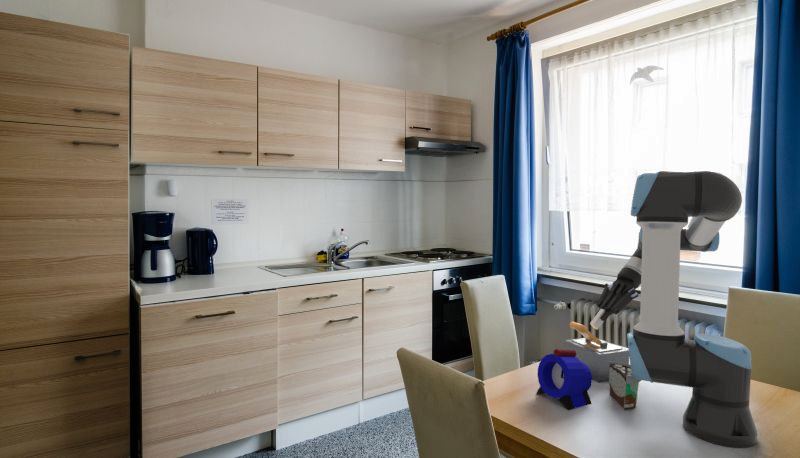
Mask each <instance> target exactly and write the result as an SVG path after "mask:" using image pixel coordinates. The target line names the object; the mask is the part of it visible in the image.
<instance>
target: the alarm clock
mask: <svg viewBox="0 0 800 458" xmlns="http://www.w3.org/2000/svg"><path fill="white" fill-rule="evenodd" d="M575 356H576V351H575V350H565V349H560V348H559V349H557V348H556V349H554V350H553V353H550V354H549V353H548V354H546V355H544V357H542V358H541V360H540V361H539V364H538V366H537V367H538V368H537V381H538V384H539V387H538V390H537V391H536V394H535V395H543V394H544V395H546V396H548V397H549V398H552V399H558V401H559V403H561V404H562V405H563V407H565V409H566V410H567V411H571V410H574V409H578V408H581V407H584V406H588V405H592V404H593V403H592V400H591V397H590V395H589V392H588V391H589V390H590V389H591V387H592V383H593V380H592V375H591V371H590V369H589V368H588V366H587V365H586V364H584V363H583V362H581V361H580V360H579V359H578V358H577V357H575Z"/></svg>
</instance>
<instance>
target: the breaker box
mask: <svg viewBox="0 0 800 458" xmlns="http://www.w3.org/2000/svg"><path fill="white" fill-rule="evenodd" d="M598 339H599V340H600V341H601V343H600V345H598V344H596V343H593V342H590V341H589V340H587V339H586V338H585V337H581V338H580V337H579V338H573V339H565V340H564V350H575V351H576V356H575V357H577V358H578V359H579V360H580V361H581V362H583V363H584V364H586V365H587V366H588V368H589V369H590V371H591V375H592V381H594V382H596V383H598V384H601V383H605V382H609V368H608V365H609V361H613V362H621V363H626V364H629V365H630V358H629V349H627V348H625V347H622V346H620V345H616V344H613V343H612V342H608V341H606V340H603V339H600V338H598Z"/></svg>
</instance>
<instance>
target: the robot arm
mask: <svg viewBox="0 0 800 458" xmlns="http://www.w3.org/2000/svg"><path fill="white" fill-rule="evenodd" d="M636 177H637V178H636V179H635V184H634V190H633V194H632V202H631V206H630V207H631V209H630V216H632V217H636V224H637V226H639V227H640V230H639V232H638V242H637V247H636V250H635V251H634V253H633V254H632V255H631V257H629V259H628V260H627V261H626V263H625V264H624V265H623V267H622V268H621V269H620V271H618V273H617V276H616V279H615V280H614V281H613V282H612V283H610V284H608V283H605V284H604V288H603V291H602V293H601V294H600V297H599V299H598V301H597V303H596V306H597V308H598V310H597V311H596V313H595V315H594V318H593V319H592V320H591V321H590V323H589V324H590V326H591V327H592V328H593V329H594V330H596V331H598V330H599V329H600V327H601V326H602V324H603V323H604V322H606V321H607V319H608V318H609V317H610V316H611V315H613V314H614V315H618V314H619V313H621V311H622V310H623V309H624V308H625V307H626V306H627V305H629V304H630V303H631V302H632V301H633V300H634V299H637V298H638V297H639V293H638V292H637V291H636V289H638V288H639V287H640V303H639V304H640V307H639V308H640V309H639V311H640V312H639V316H640V317H639V322H637V323H636V324H634V326H633V329H632V330H633V331H632V332H628V333H627V334H626V338H627V348H628V349H627V350H629V365H630V366H631V373H632V375H633V376H634V377H635V378H636V379H639V380H641V381H645V382H650V383H651V384H652V383H657V384H665V385H672V386H679V387H686V388H692V393H691V397H690V400H689V401H688V404H687V406H686V408H685V411H684V413H683V416H682V425H683V428H684V429H685V430H686V431H687V432H688V433H689V434H691V435H693V436H694V437H697V438H699V439H701V440H704V441H706V442H709V443H713V444H716V445H719V446H723V447H724V446H725V447H729V448H730V447H732V448H747V447H752V446H754V445H756V444H757V442H758V430H757V427H756V424H755V421H754V418H753V414H752V412H751V408H750V398H751V379H752V369H753V365H752V364H753V363H752V352H751V350H750V349H749V348H748V347H747V346H746V345H745V344H743V343H742V342H739V341H737V340H734V339H731V338H728V337H725V336H720V335H716V334H710V333H696V334H695V335H694V337H693V339H687V338H685V334H686V333H685V331H684V330H683V329H682V328H681V327H680V326H679V304H680V303H679V301H680V300H679V298H680V295H679V294H680V269H681V268H680V266H681V265H680V264H681V263H680V262H681V251H685V252H703V253H707V252H716V251H718V249H719V246H720V232H719V231H720V230H721V228H722V227H723V225H724V224H725V223H726V222H727V221H729V220H731V219H732V218H734V217H735V216H736V215H737V214H738V212H739V210H740V209H741V207H742V202H743V197H742V196H743V195H742V193H741V191H740V189H739V186H738V185H737V184H736V183H735V182H734V181H733V180H732V179H730V178H729V177H728V176H726V175H724V174H722V173H720V172H717V171H714V170H710V169H709V170H708V169H698V170H697V169H695V170H690V169H689V170H688V169H687V170H685V169H684V170H681V169H679V170H672V169H671V170H651V171H643V172H640V173H639V174H638V175H637V176H636ZM689 217H691V219H690V221H689Z"/></svg>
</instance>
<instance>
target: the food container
mask: <svg viewBox="0 0 800 458" xmlns="http://www.w3.org/2000/svg"><path fill="white" fill-rule="evenodd" d="M608 368H609V381H608V382H609V383H608V386H609V387H608V389H609V391H608V392H609V397H610V398H611V399H612V400H613V401H614V402H615V403H616V404H617V405H618V406H619V407H620V408H621V409H622V410H623V411H631V410H633V409H636V407H637V399H638V391H639V384H640V382H641V381H642V380H639V379H636V378H635V377H634V376H633V375H632V373H631V366H630V363H629V364H626V363H621V362H613V361H609V365H608Z"/></svg>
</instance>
